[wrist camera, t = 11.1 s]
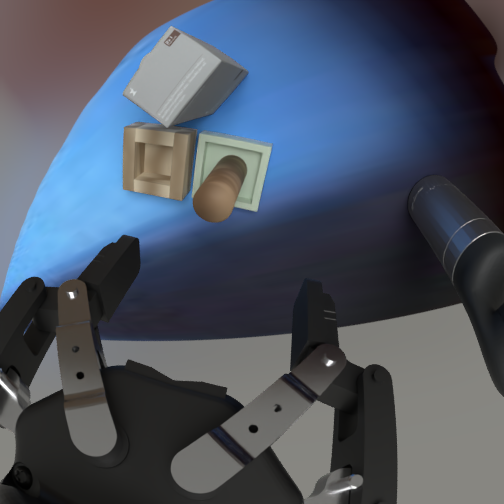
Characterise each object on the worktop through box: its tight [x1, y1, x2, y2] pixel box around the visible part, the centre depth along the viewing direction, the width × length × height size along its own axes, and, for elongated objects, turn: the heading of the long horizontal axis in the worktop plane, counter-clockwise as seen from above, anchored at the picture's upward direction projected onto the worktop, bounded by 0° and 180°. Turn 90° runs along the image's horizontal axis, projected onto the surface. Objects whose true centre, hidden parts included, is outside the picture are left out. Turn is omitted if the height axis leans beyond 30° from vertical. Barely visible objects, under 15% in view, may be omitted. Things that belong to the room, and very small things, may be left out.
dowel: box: [193, 155, 247, 222], centre depth 36 cm, size 4×4×12 cm
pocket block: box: [123, 122, 197, 201], centre depth 39 cm, size 10×10×4 cm
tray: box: [192, 130, 273, 212], centre depth 40 cm, size 10×10×2 cm
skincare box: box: [123, 26, 248, 128], centre depth 27 cm, size 8×7×16 cm
